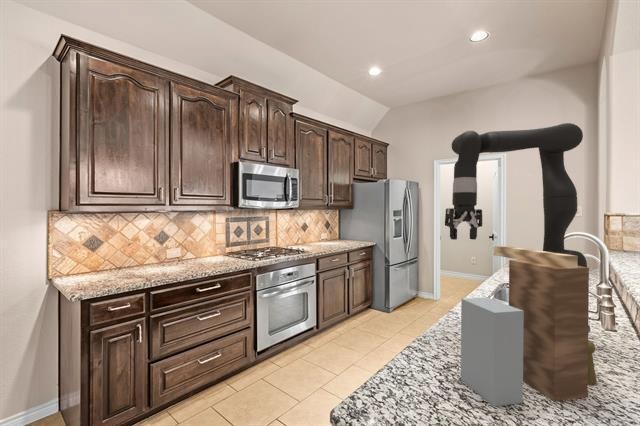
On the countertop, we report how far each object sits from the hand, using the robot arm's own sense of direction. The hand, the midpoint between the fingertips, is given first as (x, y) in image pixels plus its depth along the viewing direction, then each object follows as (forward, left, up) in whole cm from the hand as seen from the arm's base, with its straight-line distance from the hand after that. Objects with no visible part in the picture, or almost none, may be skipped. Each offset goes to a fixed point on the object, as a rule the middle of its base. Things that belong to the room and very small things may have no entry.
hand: (463, 239), depth 106 cm
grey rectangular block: (-1, +27, -36) cm, 45 cm away
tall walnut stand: (-17, +20, -36) cm, 45 cm away
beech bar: (-14, +15, -4) cm, 21 cm away
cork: (-28, +15, -37) cm, 48 cm away
